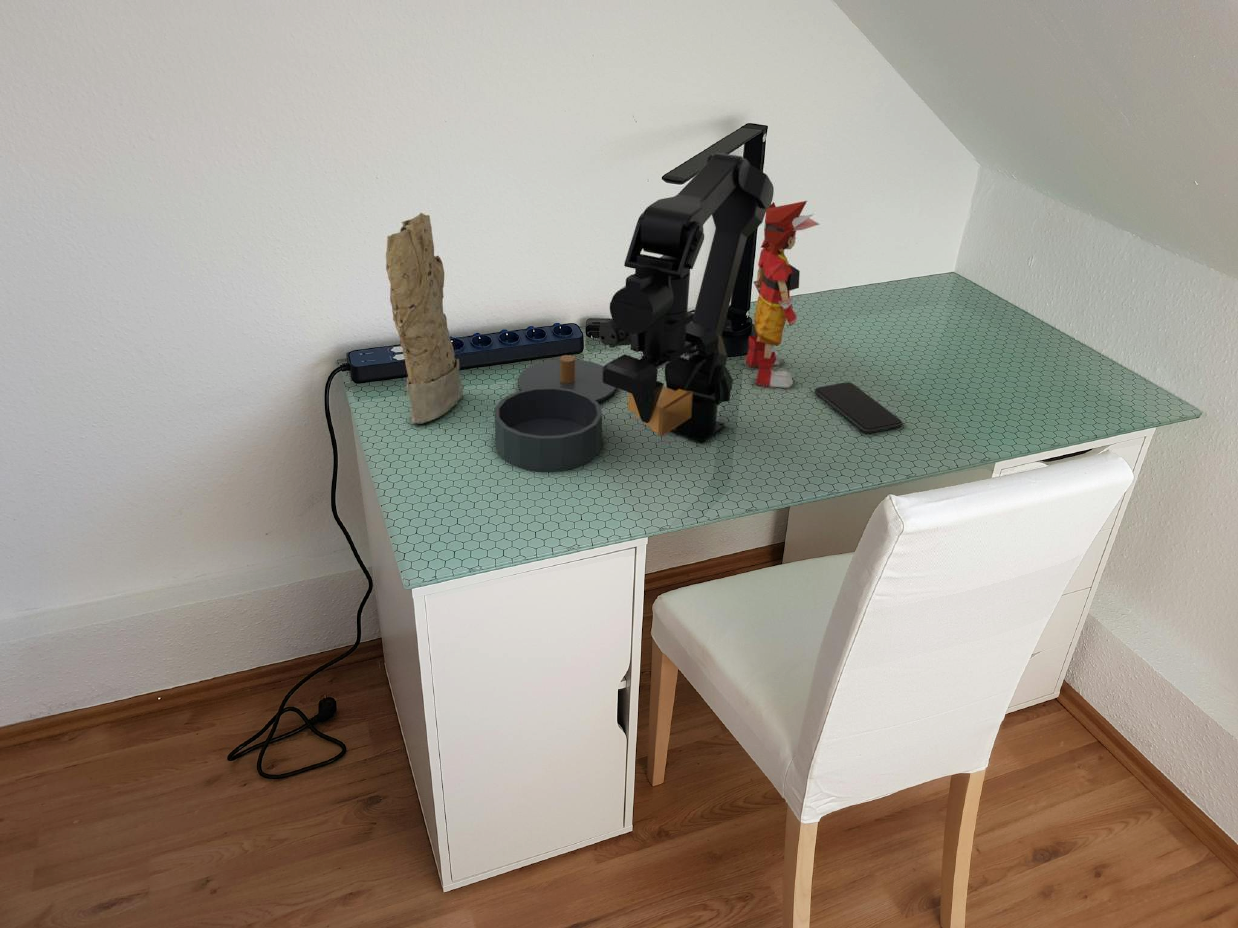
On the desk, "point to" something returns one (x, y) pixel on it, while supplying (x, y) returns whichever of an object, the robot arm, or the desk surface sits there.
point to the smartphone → (858, 407)
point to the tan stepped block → (667, 410)
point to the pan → (548, 429)
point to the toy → (775, 291)
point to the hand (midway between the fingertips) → (659, 413)
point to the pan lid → (567, 377)
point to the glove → (422, 320)
